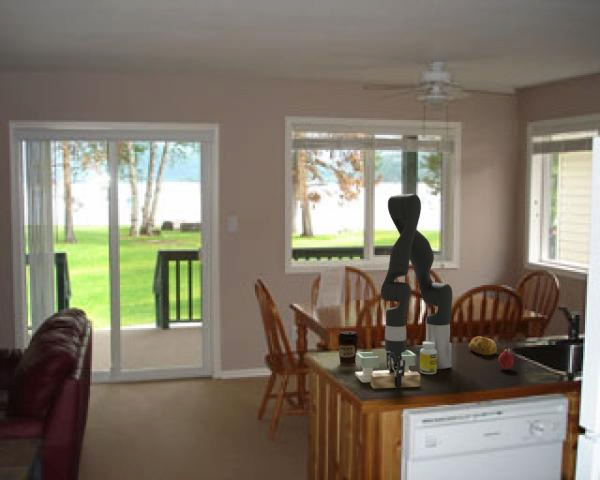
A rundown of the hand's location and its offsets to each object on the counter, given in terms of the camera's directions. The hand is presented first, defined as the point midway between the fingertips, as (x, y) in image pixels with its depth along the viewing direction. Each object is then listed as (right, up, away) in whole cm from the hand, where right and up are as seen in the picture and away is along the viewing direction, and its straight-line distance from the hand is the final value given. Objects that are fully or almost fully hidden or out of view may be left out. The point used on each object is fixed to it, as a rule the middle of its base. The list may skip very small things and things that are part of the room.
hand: (395, 384), depth 232 cm
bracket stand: (-2, 0, +11) cm, 11 cm away
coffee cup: (-15, +1, +30) cm, 33 cm away
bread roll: (+45, +3, +48) cm, 66 cm away
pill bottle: (+15, 0, +17) cm, 23 cm away
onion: (+46, +1, +21) cm, 50 cm away
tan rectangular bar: (0, -1, 0) cm, 1 cm away
